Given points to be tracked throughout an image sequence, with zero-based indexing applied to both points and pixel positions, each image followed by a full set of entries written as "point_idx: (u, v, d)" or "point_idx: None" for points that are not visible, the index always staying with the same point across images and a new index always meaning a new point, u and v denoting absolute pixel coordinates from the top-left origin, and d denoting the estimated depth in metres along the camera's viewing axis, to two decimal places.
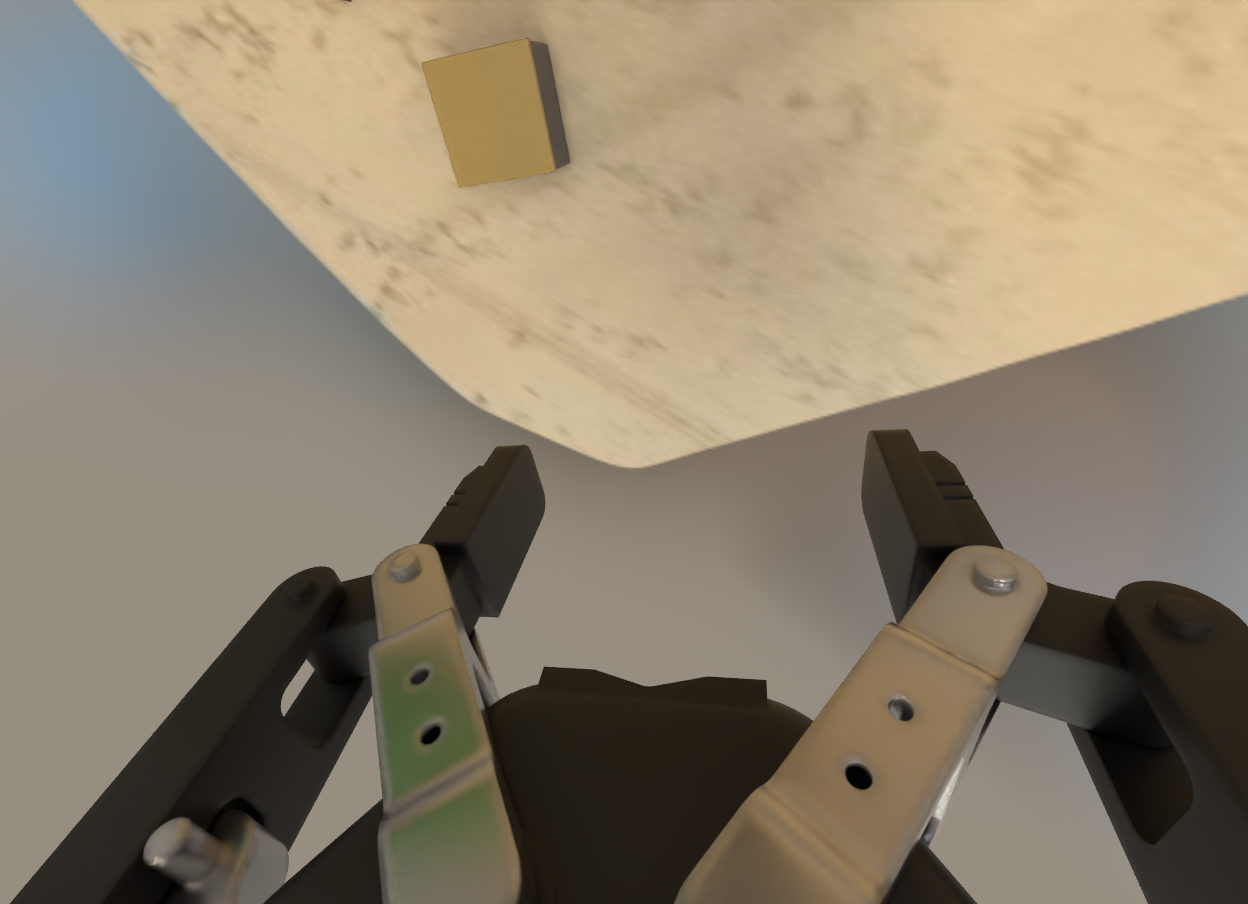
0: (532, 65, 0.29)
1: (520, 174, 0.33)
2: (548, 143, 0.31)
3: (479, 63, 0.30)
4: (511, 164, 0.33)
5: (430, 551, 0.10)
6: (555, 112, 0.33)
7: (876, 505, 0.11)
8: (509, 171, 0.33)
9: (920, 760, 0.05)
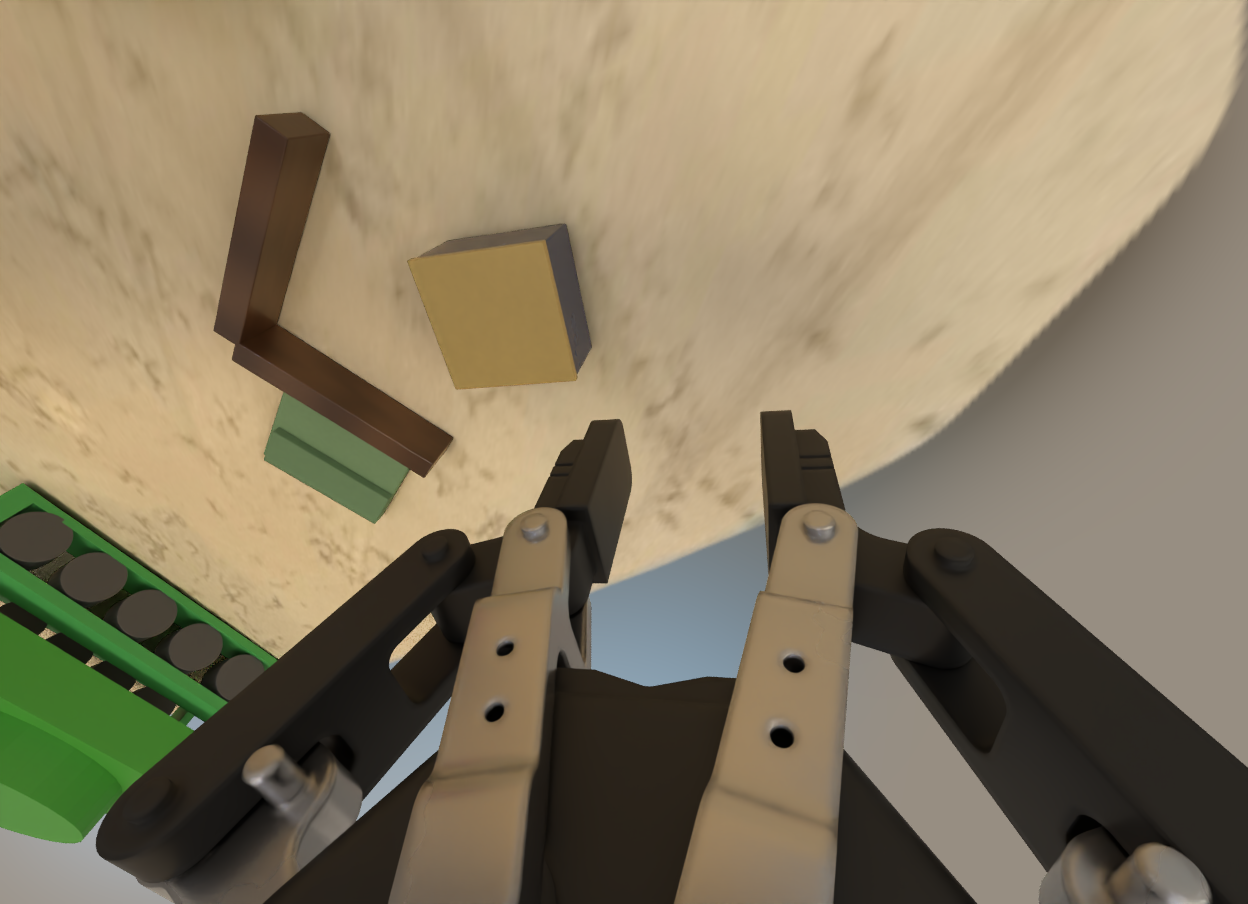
0: (431, 257, 0.23)
1: (551, 294, 0.23)
2: (509, 246, 0.23)
3: (442, 324, 0.25)
4: (541, 305, 0.24)
5: (556, 514, 0.10)
6: (502, 236, 0.25)
7: (763, 478, 0.12)
8: (549, 309, 0.24)
9: (822, 700, 0.06)
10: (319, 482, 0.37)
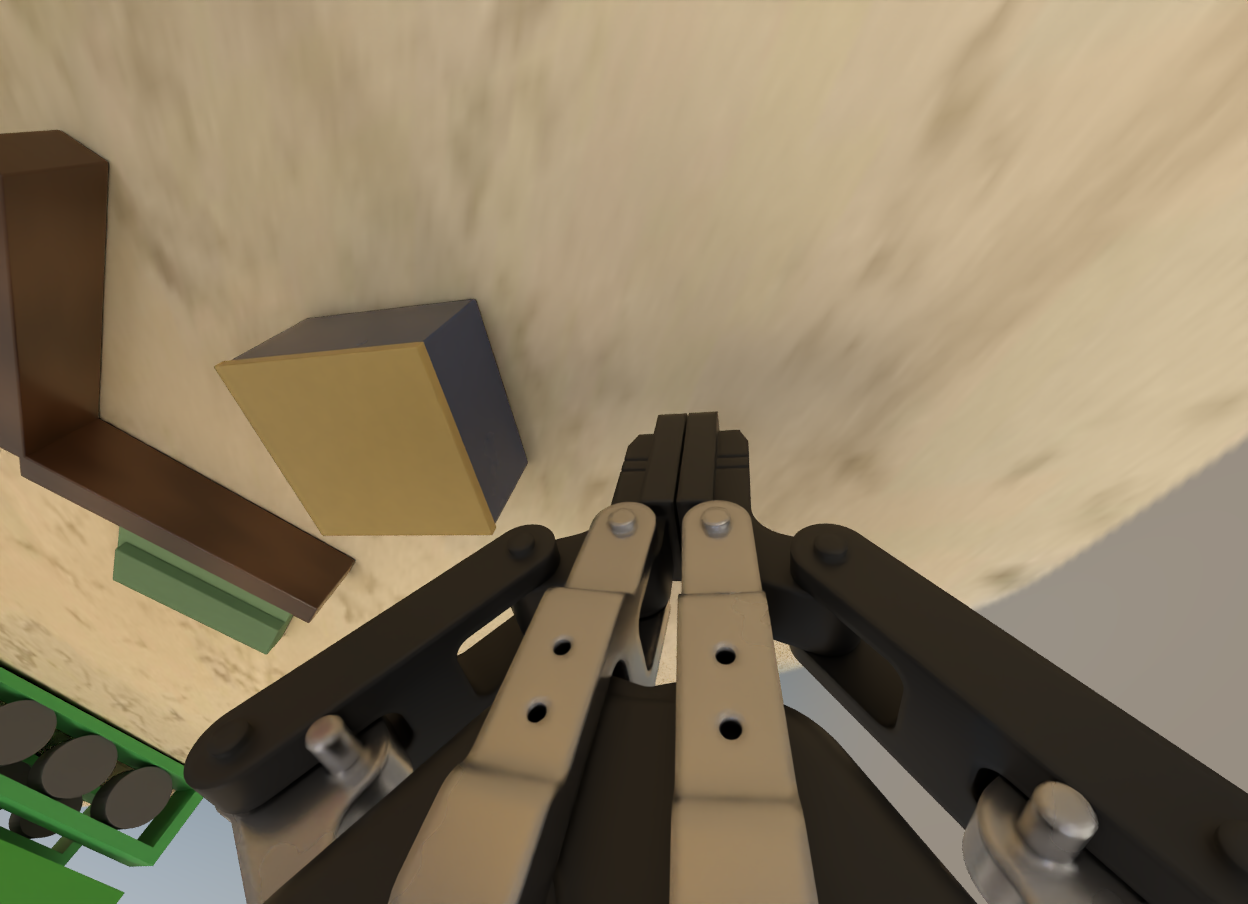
0: (249, 363, 0.15)
1: (441, 421, 0.15)
2: (365, 352, 0.14)
3: (286, 454, 0.17)
4: (427, 435, 0.15)
5: (642, 509, 0.10)
6: (377, 319, 0.16)
7: None
8: (440, 442, 0.15)
9: (758, 683, 0.06)
10: (187, 607, 0.28)
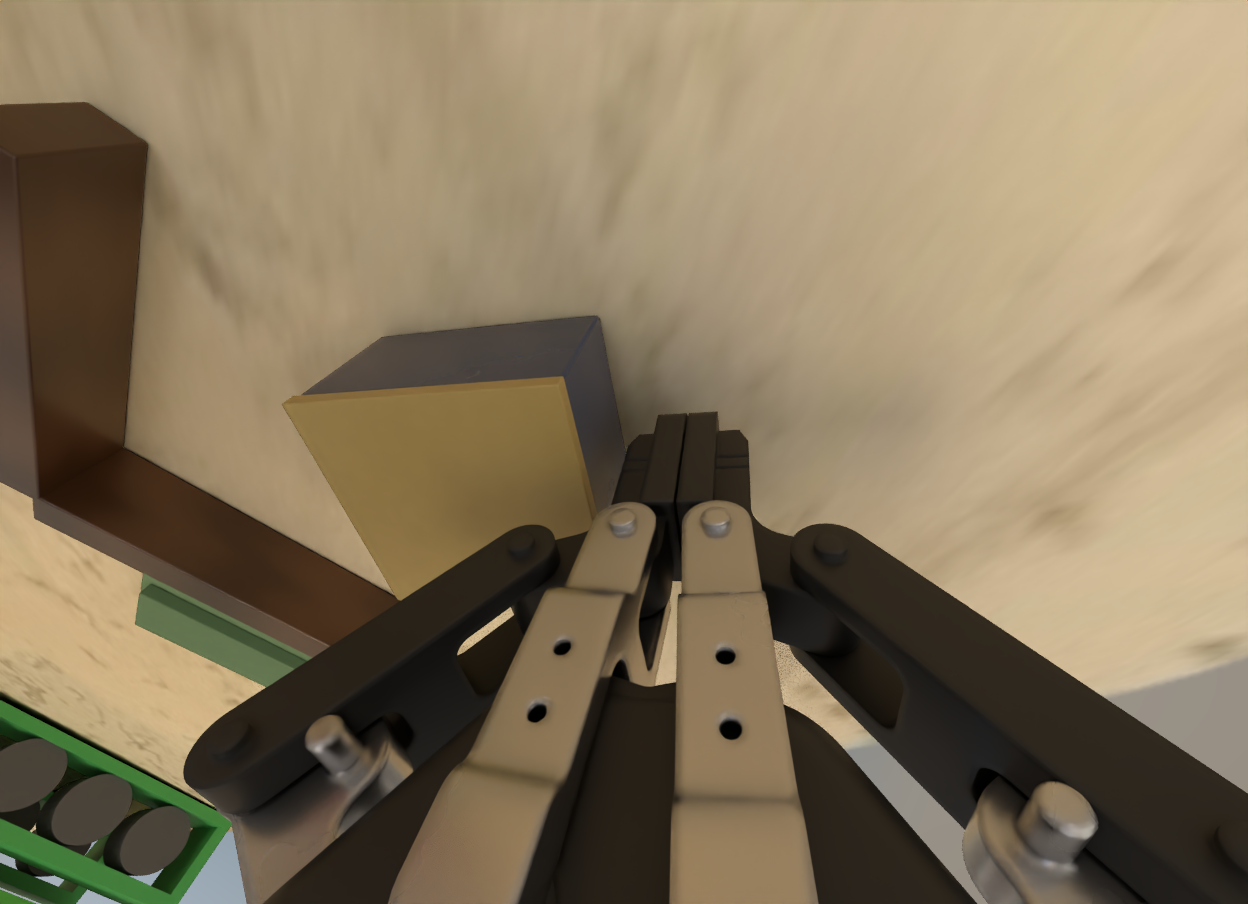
0: (328, 401, 0.11)
1: (574, 476, 0.11)
2: (486, 389, 0.11)
3: (364, 508, 0.13)
4: (552, 492, 0.12)
5: (642, 509, 0.10)
6: (477, 341, 0.13)
7: None
8: (569, 500, 0.12)
9: (758, 683, 0.06)
10: (219, 655, 0.25)
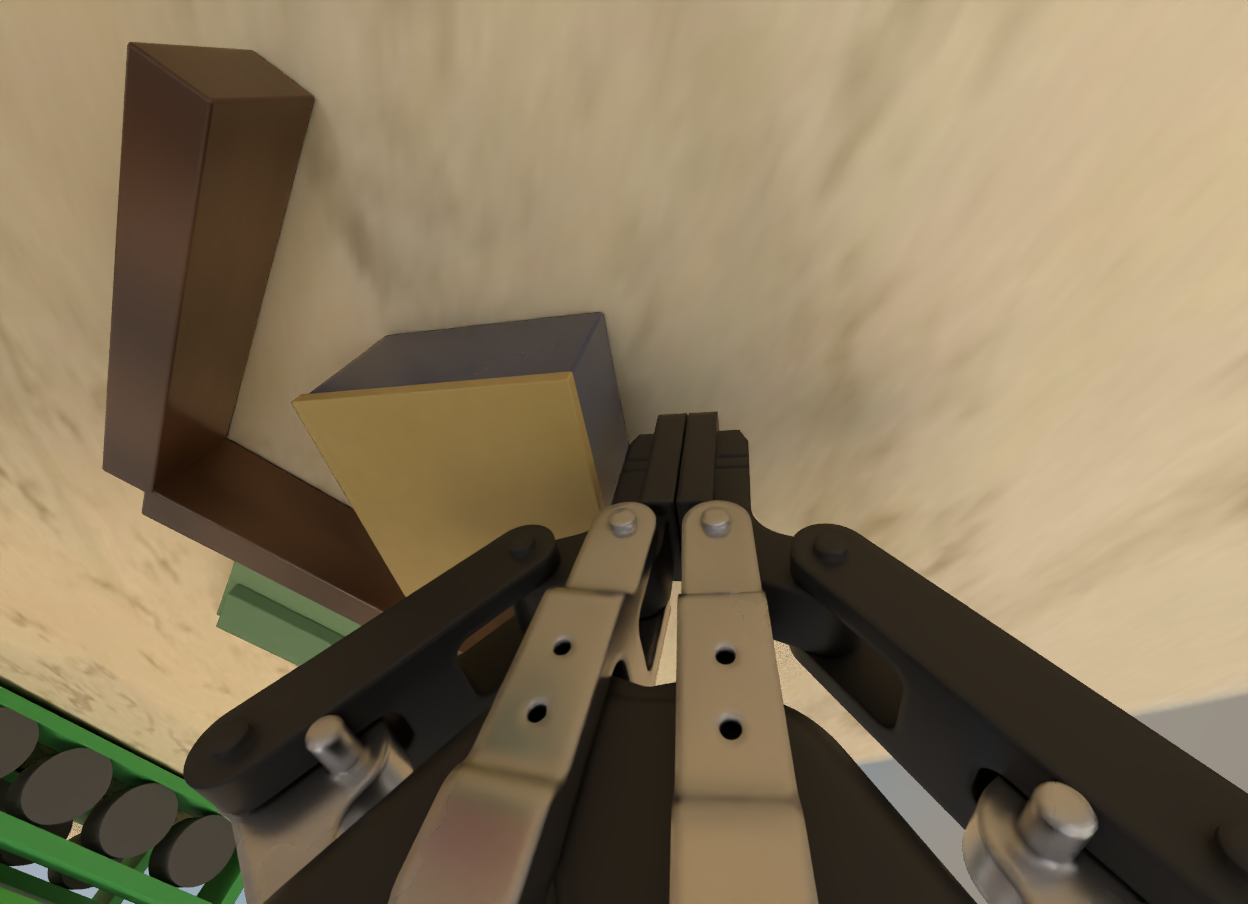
0: (338, 398, 0.12)
1: (582, 470, 0.12)
2: (495, 385, 0.11)
3: (372, 506, 0.13)
4: (561, 486, 0.12)
5: (642, 509, 0.10)
6: (483, 338, 0.13)
7: None
8: (577, 494, 0.12)
9: (758, 683, 0.06)
10: (304, 658, 0.24)
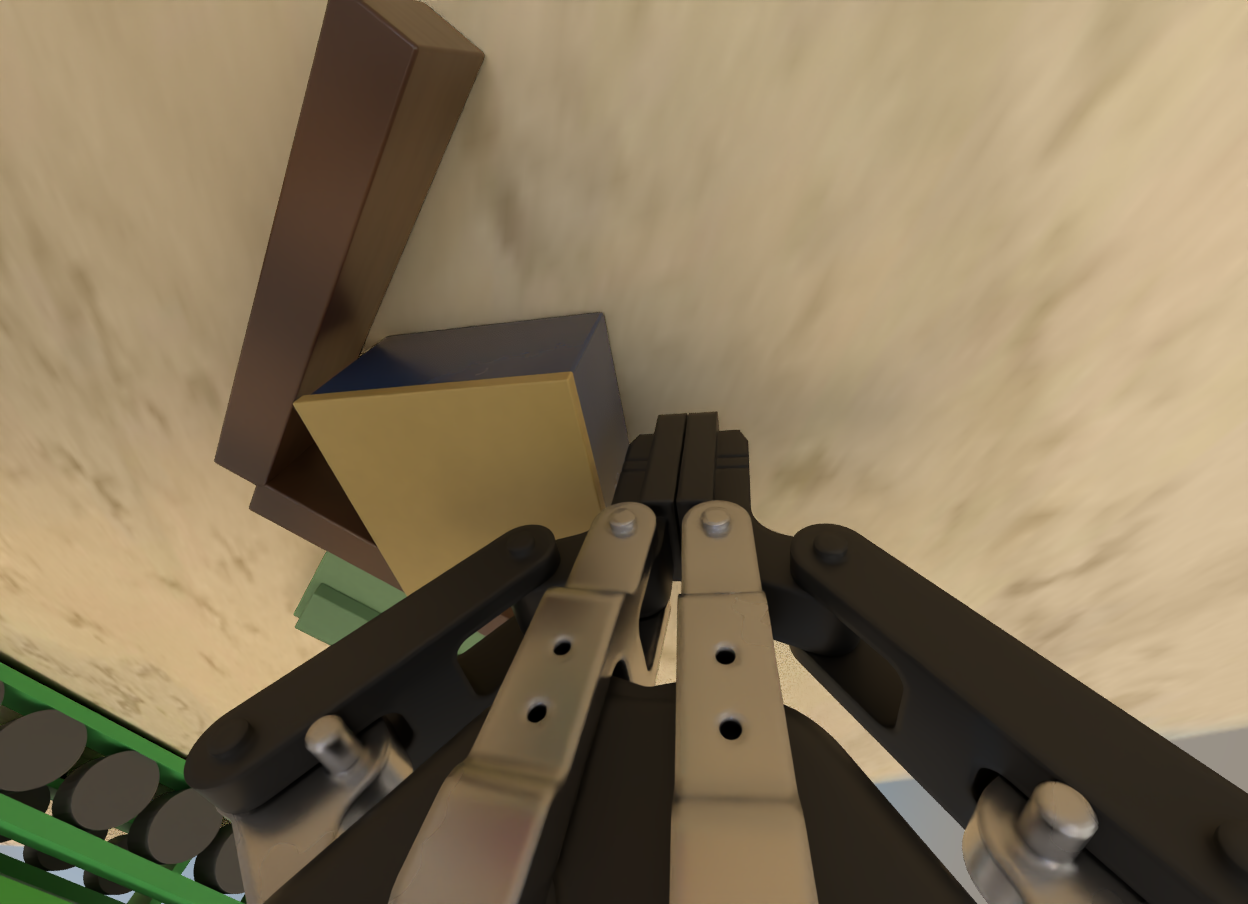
0: (339, 399, 0.12)
1: (583, 470, 0.12)
2: (496, 386, 0.11)
3: (374, 506, 0.13)
4: (562, 486, 0.12)
5: (642, 509, 0.10)
6: (483, 338, 0.13)
7: None
8: (578, 494, 0.12)
9: (758, 683, 0.06)
10: None
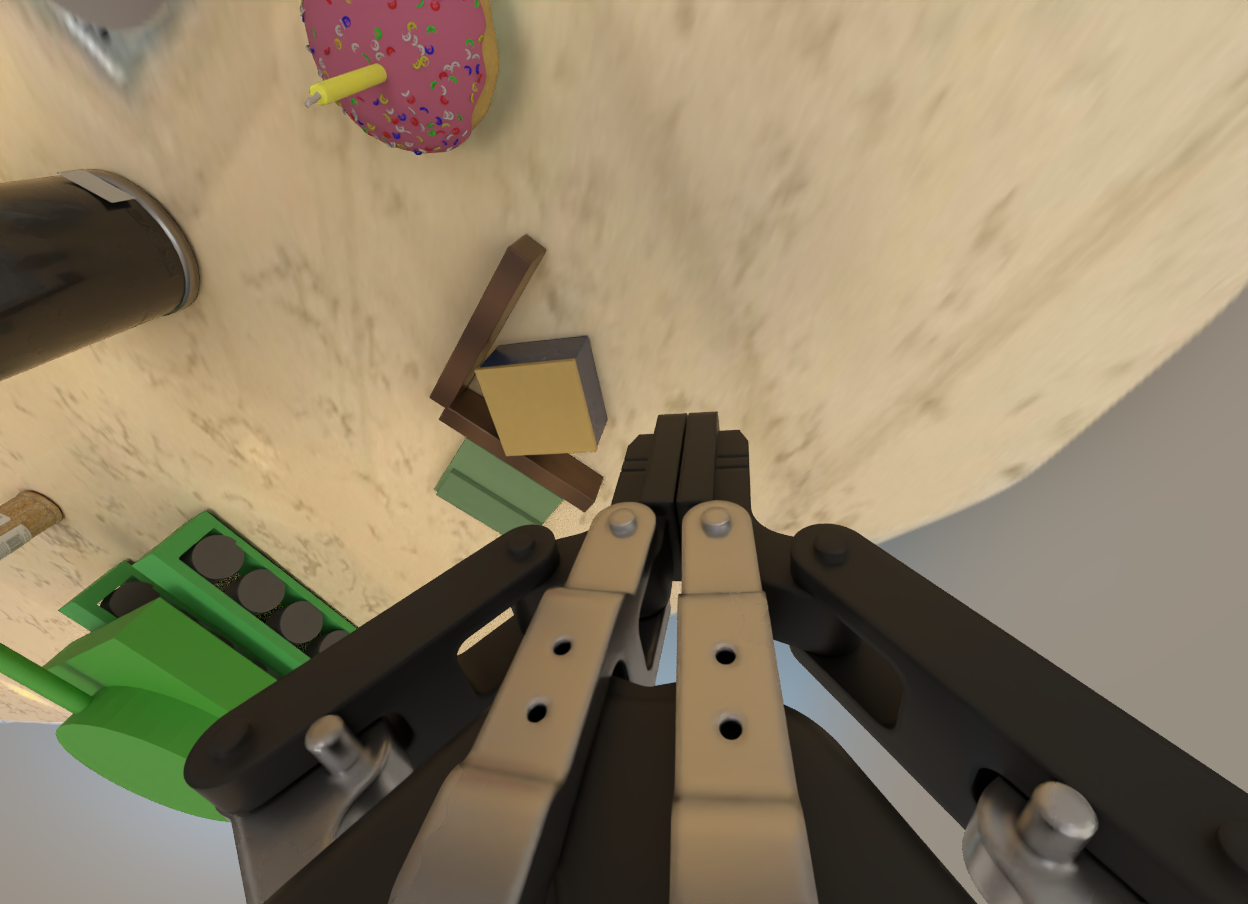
0: (492, 368, 0.33)
1: (579, 394, 0.32)
2: (549, 363, 0.32)
3: (498, 412, 0.34)
4: (571, 401, 0.33)
5: (642, 509, 0.10)
6: (541, 346, 0.34)
7: None
8: (577, 404, 0.33)
9: (758, 683, 0.06)
10: (481, 513, 0.44)
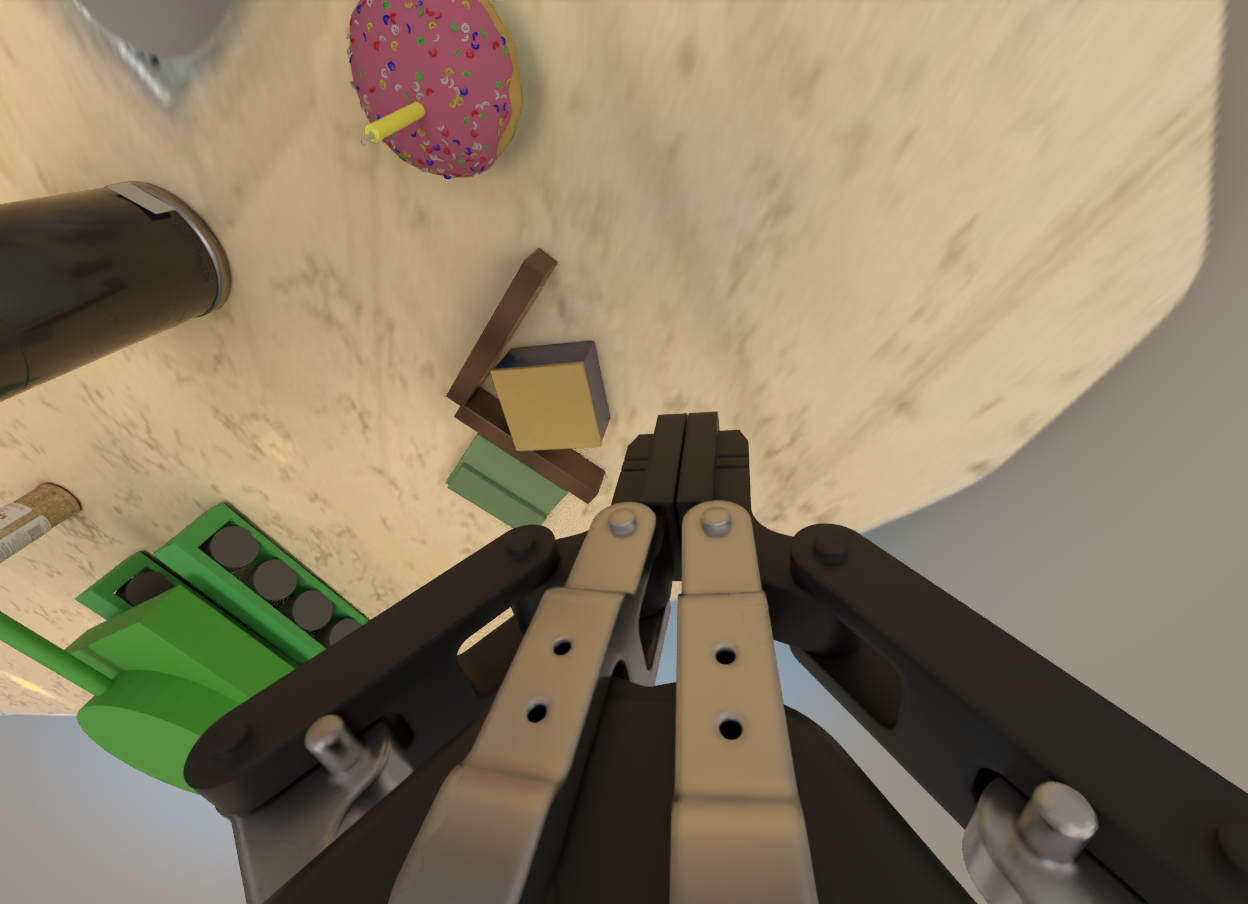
0: (506, 370, 0.35)
1: (586, 394, 0.35)
2: (559, 365, 0.35)
3: (510, 410, 0.37)
4: (578, 400, 0.36)
5: (642, 509, 0.10)
6: (551, 350, 0.37)
7: None
8: (584, 403, 0.36)
9: (758, 683, 0.06)
10: (490, 505, 0.47)
